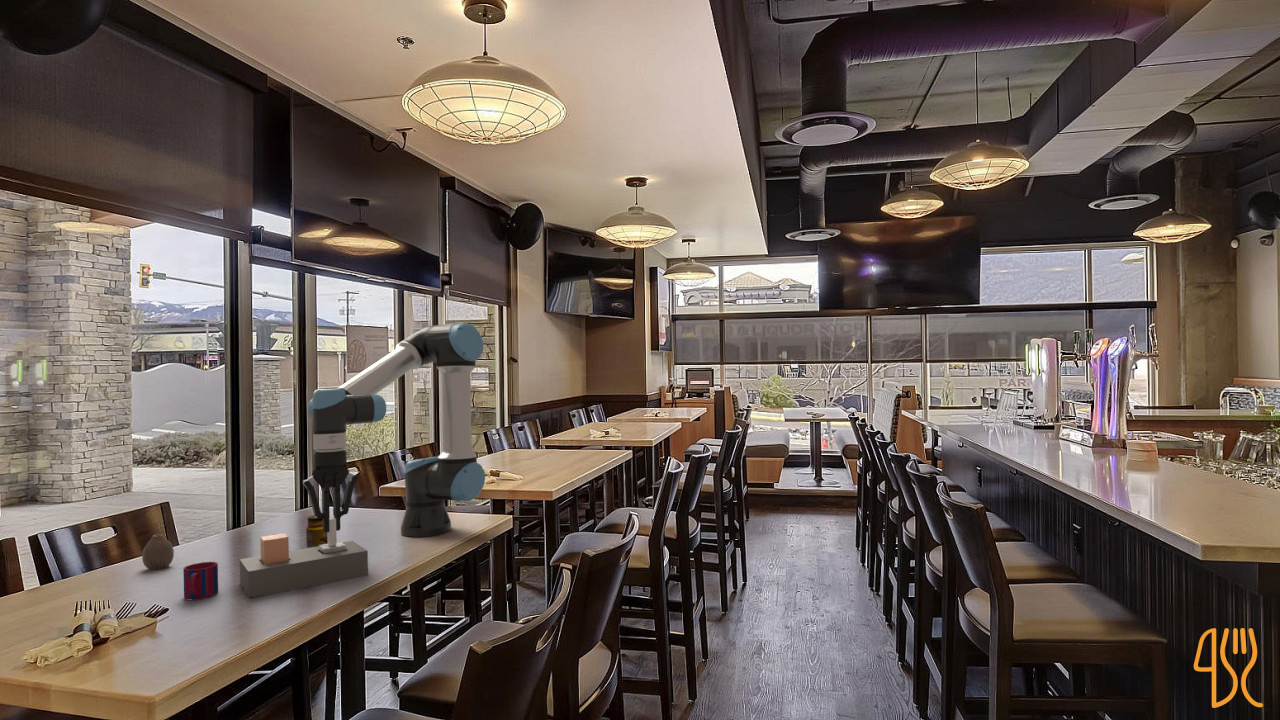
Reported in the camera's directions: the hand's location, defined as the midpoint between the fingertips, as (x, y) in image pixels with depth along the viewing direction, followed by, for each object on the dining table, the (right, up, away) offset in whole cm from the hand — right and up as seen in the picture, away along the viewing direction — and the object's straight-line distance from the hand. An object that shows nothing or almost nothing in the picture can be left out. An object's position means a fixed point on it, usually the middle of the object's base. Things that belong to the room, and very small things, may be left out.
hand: (332, 544), depth 174 cm
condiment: (-10, -8, +13) cm, 19 cm away
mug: (-24, -8, -15) cm, 29 cm away
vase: (-51, -10, +11) cm, 53 cm away
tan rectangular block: (-10, -2, -8) cm, 13 cm away
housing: (-5, -8, -4) cm, 10 cm away
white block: (0, -6, 0) cm, 6 cm away
